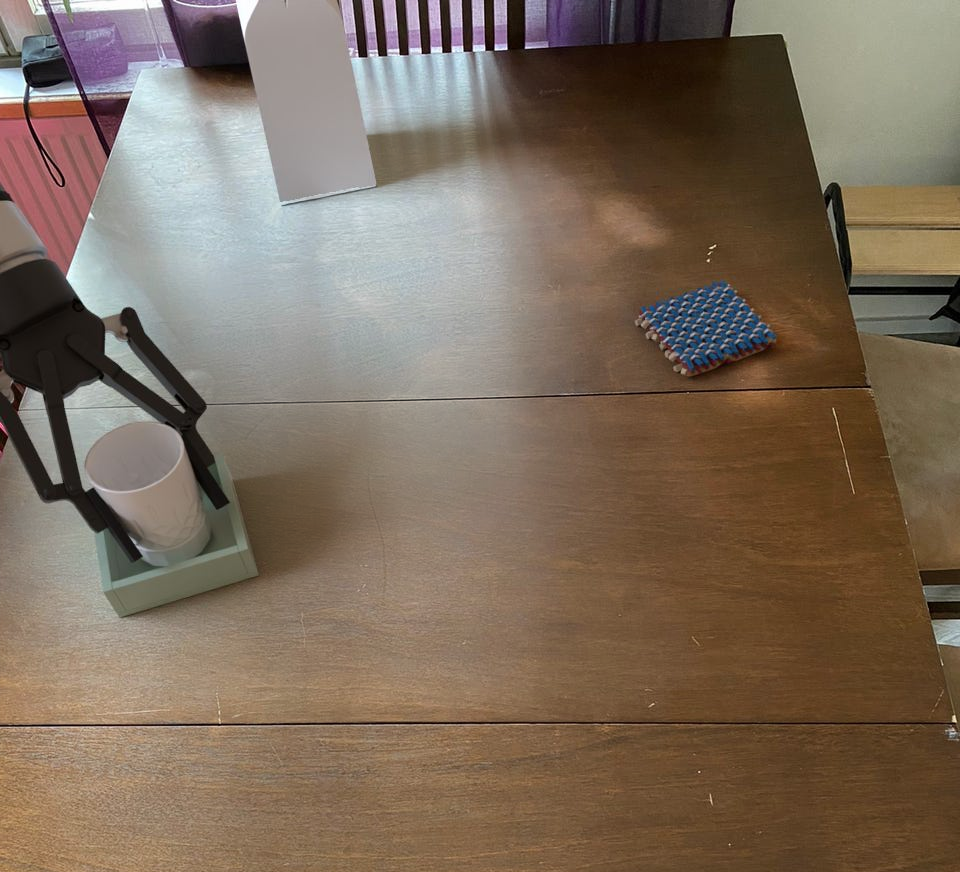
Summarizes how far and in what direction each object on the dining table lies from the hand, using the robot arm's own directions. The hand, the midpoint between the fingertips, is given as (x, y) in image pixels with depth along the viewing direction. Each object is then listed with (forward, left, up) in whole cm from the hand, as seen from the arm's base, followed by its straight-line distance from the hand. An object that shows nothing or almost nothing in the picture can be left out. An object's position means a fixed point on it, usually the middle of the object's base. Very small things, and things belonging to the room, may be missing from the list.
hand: (181, 532), depth 83 cm
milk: (+25, +56, -5) cm, 62 cm away
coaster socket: (-1, +3, -5) cm, 6 cm away
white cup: (-1, +3, -4) cm, 5 cm away
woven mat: (+53, +10, -5) cm, 54 cm away
